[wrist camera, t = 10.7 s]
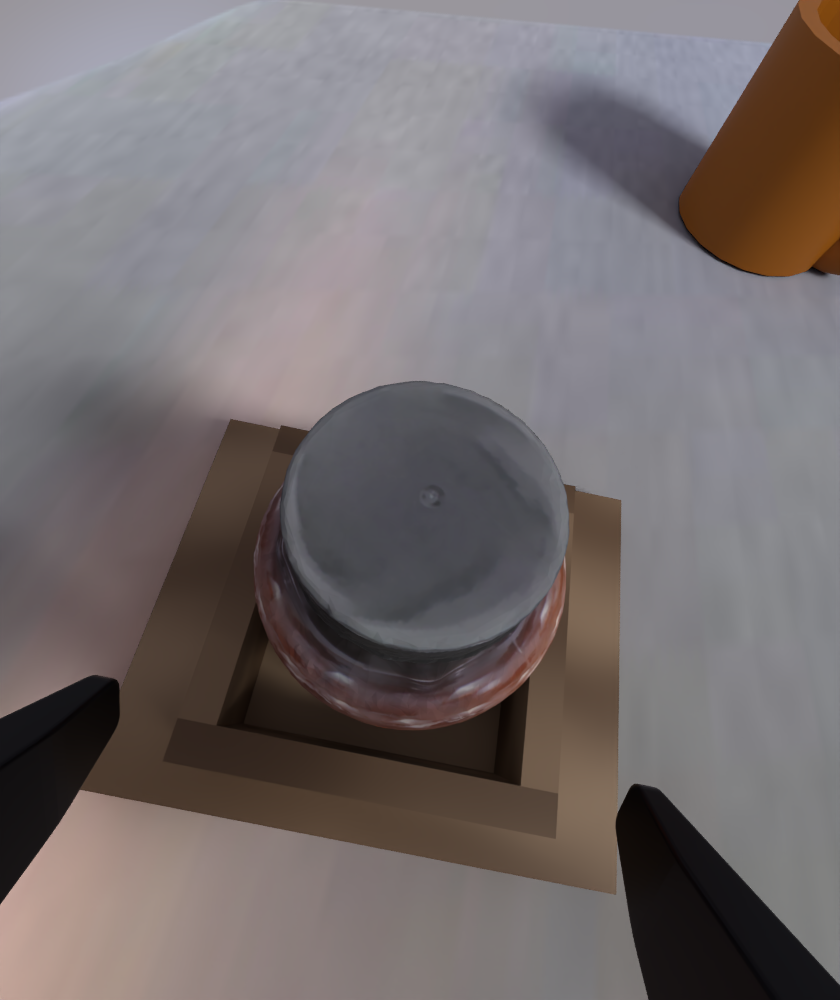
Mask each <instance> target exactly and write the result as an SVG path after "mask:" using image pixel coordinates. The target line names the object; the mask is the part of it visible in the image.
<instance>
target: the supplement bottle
mask: <svg viewBox="0 0 840 1000" xmlns="http://www.w3.org/2000/svg"><path fill="white" fill-rule="evenodd" d="M568 539H569V510H568V503H567V494H566V491H565V487H564V484H563V482H562V480H561V476H560V473H559V471H558V469H557V467H556V465H555V463H554V461H553V458H552V457H551V455H550V454H549V452H548V450H547V449H546V447H545V445H544V444H543V443H542V442H541V440H540V439H539V438H538V437H537V436H536V435H535V433H534V432H533V431H532V430H531V429H530V428H529V427H528V426H527V425H526V424H525V423H524V422H523V421H522V420H521V419H519V418H518V417H516V416H515V415H514V414H513V413H511V412H510V411H509V410H507V409H505V408H504V407H503V406H501V405H499V404H497V403H495V402H494V401H492V400H491V399H489V398H487V397H484V396H481V395H479V394H477V393H475V392H474V391H471V390H467V389H463V388H460V387H456V386H453V385H449V384H445V383H433V382H427V381H410V382H403V383H396V384H390V385H384V386H378V387H376V388H374V389H371V390H369V391H366V392H363V393H360V394H358V395H356V396H354V397H351V398H349V399H348V400H346V401H344V402H343V403H341V404H340V405H338V406H336V407H335V408H333V409H332V410H331V411H329V412H328V413H327V414H326V415H325V416H324V417H322V418H321V419H320V420H319V421H318V422H317V423H316V424H315V425H314V426H313V428H312V429H311V430H310V431H309V432H308V434H307V435H306V436H305V438H304V439H303V440H302V442H301V443H300V444H299V446H298V447H297V449H296V450H295V453H294V455H293V457H292V459H291V462H290V464H289V466H288V468H287V471H286V475H285V480H284V482H283V483H282V485H281V486H280V488H279V489H278V490H277V492H276V493H275V495H274V497H273V498H272V500H271V501H270V503H269V506H268V508H267V510H266V513H265V514H264V516H263V519H262V522H261V526H260V530H259V532H258V535H257V541H256V546H255V552H254V592H255V601H256V604H257V607H258V611H259V615H260V618H261V621H262V623H263V626H264V629H265V631H266V634H267V636H268V639H269V641H270V643H271V645H272V646H273V648H274V650H275V653H276V654H277V655H278V657H279V658H280V660H281V661H282V663H283V664H284V666H285V667H286V668H287V669H288V670H289V672H290V674H291V675H292V676H293V677H294V678H295V679H296V680H297V681H298V683H299V684H300V685H301V686H302V687H303V688H305V689H306V690H307V691H308V692H309V693H311V694H312V695H313V696H314V697H316V698H317V699H318V700H320V701H321V702H323V703H325V704H326V705H328V706H329V707H331V708H332V709H334V710H336V711H338V712H340V713H342V714H344V715H347V716H349V717H351V718H354V719H356V720H358V721H361V722H363V723H366V724H370V725H374V726H377V727H382V728H390V729H397V730H427V729H435V728H440V727H445V726H450V725H453V724H456V723H460V722H463V721H466V720H468V719H471V718H473V717H475V716H477V715H479V714H481V713H484V712H485V711H487V710H489V709H491V708H492V707H494V706H496V705H497V704H499V703H500V702H501V701H503V700H504V699H505V698H507V697H508V696H509V695H511V694H512V693H513V692H515V691H516V690H517V689H518V688H519V687H520V686H521V685H522V684H523V683H524V682H525V681H526V680H527V678H528V677H529V676H530V675H531V674H532V673H533V671H534V670H535V669H536V667H537V666H538V665H539V663H540V662H541V661H542V659H543V657H544V655H545V654H546V652H547V650H548V648H549V647H550V645H551V643H552V641H553V639H554V637H555V634H556V631H557V628H558V625H559V622H560V619H561V616H562V613H563V607H564V601H565V592H566V562H565V554H566V550H567V545H568Z"/></svg>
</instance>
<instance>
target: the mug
mask: <svg viewBox="0 0 840 1000" xmlns="http://www.w3.org/2000/svg"><path fill="white" fill-rule="evenodd" d="M679 209H680V214H681V217H682V219H683V221H684V223H685V225H686V228H687V229H688V230H689V231H690V233H691V234H692V235H693V236H694V237H695V238H696V239H697V241H698V242H699V243H700V244H701V245H702V246H704V247H705V248H706V249H708V250H709V251H710V252H712V253H713V254H714V255H716V256H717V257H718V258H720V259H721V260H724V261H726V262H728V263H730V264H732V265H734V266H736V267H738V268H741V269H743V270H746V271H750V272H754V273H758V274H762V275H766V276H792V275H795V274H799V273H802V272H806V271H807V270H808V269H810V268H811V267H814V268H816V269H818V270H820V271H821V272H824V273H830V274H836V275H840V0H799V1H798V3H797V5H796V6H795V8H794V9H793V11H792V13H791V14H790V16H789V18H788V19H787V21H786V23H785V24H784V26H783V28H782V29H781V31H780V32H779V35H778V36H777V37H776V39H775V41H774V42H773V44H772V46H771V47H770V49H769V50H768V52H767V54H766V55H765V57H764V59H763V60H762V62H761V64H760V65H759V67H758V68H757V70H756V72H755V73H754V75H753V77H752V78H751V80H750V82H749V83H748V85H747V86H746V88H745V90H744V91H743V93H742V95H741V96H740V98H739V100H738V101H737V103H736V105H735V106H734V108H733V109H732V111H731V113H730V114H729V116H728V118H727V119H726V121H725V123H724V124H723V126H722V127H721V129H720V131H719V132H718V134H717V136H716V137H715V139H714V141H713V142H712V144H711V145H710V147H709V149H708V150H707V152H706V154H705V155H704V157H703V159H702V160H701V162H700V164H699V165H698V167H697V168H696V170H695V172H694V173H693V175H692V177H691V178H690V180H689V182H688V183H687V185H686V186H685V188H684V190H683V192H682V194H681V195H680V197H679Z"/></svg>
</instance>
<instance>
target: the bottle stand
mask: <svg viewBox="0 0 840 1000" xmlns="http://www.w3.org/2000/svg"><path fill="white" fill-rule="evenodd" d="M308 432H309V431H306V430H301V429H296V428H291V427H287V426H282V425H281V428H280V429H276V428H271V427H266V426H262V425H257V424H252V423H247V422H242V421H238V420H233V419H231V420H230V422H229V425H228V427H227V429H226V432H225V434H224V437H223V439H222V442H221V444H220V447H219V449H218V451H217V454H216V456H215V459H214V461H213V464H212V466H211V469H210V471H209V474H208V476H207V478H206V481H205V483H204V486H203V488H202V491H201V493H200V496H199V498H198V501H197V503H196V505H195V508H194V510H193V513H192V515H191V518H190V520H189V523H188V525H187V528H186V530H185V532H184V535H183V537H182V540H181V542H180V545H179V547H178V550H177V552H176V555H175V557H174V559H173V562H172V564H171V567H170V569H169V572H168V574H167V577H166V579H165V582H164V584H163V586H162V589H161V591H160V594H159V596H158V599H157V601H156V604H155V606H154V609H153V611H152V613H151V616H150V618H149V621H148V623H147V626H146V628H145V631H144V633H143V635H142V638H141V640H140V643H139V645H138V648H137V650H136V653H135V655H134V658H133V660H132V662H131V665H130V667H129V670H128V672H127V675H126V677H125V680H124V682H123V685H122V687H121V689H120V718H119V722H118V725H117V728H116V730H115V732H114V733H113V735H112V737H111V738H110V740H109V742H108V743H107V745H106V747H105V748H104V750H103V752H102V753H101V755H100V757H99V758H98V760H97V762H96V763H95V765H94V767H93V768H92V770H91V772H90V773H89V775H88V777H87V778H86V780H85V782H84V783H83V785H82V787H81V788H80V790H85V791H90V792H95V793H100V794H105V795H110V796H115V797H120V798H126V799H131V800H136V801H141V802H146V803H151V804H156V805H161V806H166V807H171V808H176V809H182V810H187V811H192V812H197V813H202V814H207V815H212V816H217V817H222V818H227V819H233V820H238V821H243V822H248V823H253V824H258V825H263V826H268V827H273V828H278V829H284V830H289V831H294V832H299V833H304V834H309V835H314V836H319V837H324V838H329V839H335V840H340V841H345V842H350V843H355V844H360V845H365V846H370V847H375V848H380V849H385V850H391V851H396V852H401V853H406V854H411V855H416V856H421V857H426V858H431V859H436V860H442V861H447V862H452V863H457V864H462V865H467V866H472V867H477V868H482V869H487V870H493V871H498V872H503V873H508V874H513V875H518V876H523V877H528V878H533V879H538V880H543V881H549V882H554V883H559V884H564V885H569V886H574V887H579V888H584V889H589V890H594V891H600V892H605V893H610V894H615V895H616V876H617V836H616V829H615V823H616V817H617V795H618V714H619V633H620V552H621V500H617V499H613V498H608V497H603V496H598V495H593V494H589V493H584V492H579V491H575V486H570V485H565V484H564V487H565V491H566V494H567V503H568V510H569V539H568V545H567V550H566V554H565V562H566V592H565V601H564V607H563V613H562V616H561V619H560V622H559V625H558V628H557V631H556V634H555V637H554V639H553V641H552V643H551V645H550V647H549V648H548V650H547V652H546V654H545V655H544V657H543V659H542V661H541V662H540V663H539V665H538V666H537V667H536V669H535V670H534V671H533V673H532V674H531V675H530V676H529V677H528V678H527V680H526V681H525V682H524V683H523V684H522V685H521V686H520V687H519V688H518V689H517V690H516V691H515V692H513V693H512V694H511V695H509V696H508V697H507V698H505V699H504V700H503V701H501V702H500V703H499V704H497V705H496V706H494V707H492V708H491V709H489V710H487V711H485V712H484V713H481V714H479V715H477V716H475V717H473V718H471V719H468V720H466V721H463V722H460V723H456V724H453V725H450V726H445V727H440V728H435V729H427V730H397V729H390V728H382V727H377V726H374V725H370V724H366V723H363V722H361V721H358V720H356V719H354V718H351V717H349V716H347V715H344V714H342V713H340V712H338V711H336V710H334V709H332V708H331V707H329V706H328V705H326V704H325V703H323V702H321V701H320V700H318V699H317V698H316V697H314V696H313V695H312V694H311V693H309V692H308V691H307V690H306V689H305V688H303V687H302V686H301V685H300V684H299V683H298V681H297V680H296V679H295V678H294V677H293V676H292V675H291V674H290V672H289V670H288V669H287V668H286V667H285V666H284V664H283V663H282V661H281V660H280V658H279V657H278V655H277V654H276V653H275V650H274V648H273V646H272V645H271V643H270V641H269V639H268V636H267V634H266V631H265V629H264V626H263V623H262V621H261V618H260V615H259V611H258V607H257V604H256V601H255V592H254V552H255V546H256V541H257V535H258V532H259V530H260V526H261V522H262V519H263V516H264V514H265V513H266V510H267V508H268V506H269V503H270V501H271V500H272V498H273V497H274V495H275V493H276V492H277V490H278V489H279V488H280V486H281V485H282V483H283V482H284V480H285V475H286V471H287V468H288V466H289V464H290V462H291V459H292V457H293V455H294V453H295V450H296V449H297V447H298V446H299V444H300V443H301V442H302V440H303V439H304V438H305V436H306V435H307V434H308Z"/></svg>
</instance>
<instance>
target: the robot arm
mask: <svg viewBox="0 0 840 1000" xmlns="http://www.w3.org/2000/svg"><path fill="white" fill-rule="evenodd" d="M119 718H120V690H119V683H118V681H117V680H115V679H113V678H108V677H103V676H98V675H92V676H89V677H86V678H84V679H82V680H80V681H78V682H76V683H74V684H72V685H70V686H68V687H66V688H63V689H61V690H59V691H57V692H55V693H53V694H51V695H49V696H47V697H45V698H43V699H40V700H38V701H36V702H34V703H32V704H30V705H28V706H26V707H24V708H22V709H19V710H17V711H15V712H13V713H11V714H9V715H7V716H5V717H3V718H1V719H0V904H1V903H2V901H3V900H4V899H5V897H6V896H7V895H8V893H9V892H10V890H11V889H12V888H13V886H14V885H15V884H16V882H17V881H18V879H19V878H20V877H21V875H22V874H23V873H24V871H25V870H26V868H27V867H28V866H29V864H30V863H31V862H32V860H33V859H34V857H35V856H36V855H37V853H38V852H39V851H40V849H41V848H42V846H43V845H44V844H45V842H46V841H47V840H48V838H49V837H50V835H51V834H52V832H53V831H54V830H55V828H56V827H57V825H58V824H59V822H60V821H61V819H62V818H63V816H64V815H65V813H66V811H67V810H68V808H69V807H70V805H71V803H72V802H73V800H74V798H75V797H76V795H77V793H78V792H79V790H80V788H81V787H82V785H83V783H84V782H85V780H86V778H87V777H88V775H89V773H90V772H91V770H92V768H93V767H94V765H95V763H96V762H97V760H98V758H99V757H100V755H101V753H102V752H103V750H104V748H105V747H106V745H107V743H108V742H109V740H110V738H111V737H112V735H113V733H114V732H115V730H116V728H117V725H118V722H119ZM615 829H616V836H617V842H618V849H619V855H620V861H621V867H622V874H623V880H624V886H625V892H626V899H627V905H628V911H629V917H630V923H631V928H632V934H633V938H634V943H635V947H636V951H637V956H638V959H639V963H640V967H641V971H642V975H643V979H644V983H645V987H646V991H647V995H648V999H649V1000H840V985H839V984H838V983H837V982H836V981H835V979H834V978H833V977H832V976H831V975H830V974H829V973H828V972H827V971H826V970H825V969H824V967H823V966H822V965H821V964H820V963H819V962H818V961H817V960H816V959H815V958H814V957H813V956H812V954H811V953H810V952H809V951H808V950H807V949H806V948H805V947H804V946H803V945H802V944H801V942H800V941H799V940H798V939H797V938H796V937H795V936H794V935H793V934H792V933H791V932H790V931H789V929H788V928H787V927H786V926H785V925H784V924H783V923H782V922H781V921H780V920H779V919H778V918H777V916H776V915H775V914H774V913H773V912H772V911H771V910H770V909H769V908H768V907H767V906H766V904H765V903H764V902H763V901H762V900H761V899H760V898H759V897H758V896H757V895H756V894H755V893H754V891H753V890H752V889H751V888H750V887H749V886H748V885H747V884H746V883H745V882H744V881H743V880H742V878H741V877H740V876H739V875H738V874H737V873H736V872H735V871H734V870H733V869H732V868H731V866H730V865H729V864H728V863H727V862H726V861H725V860H724V859H723V858H722V857H721V856H720V855H719V853H718V852H717V851H716V850H715V849H714V848H713V847H712V846H711V845H710V844H709V843H708V841H707V840H706V839H705V838H704V837H703V836H702V835H701V834H700V833H699V832H698V831H697V830H696V828H695V827H694V826H693V825H692V824H691V823H690V822H689V821H688V820H687V819H686V818H685V817H684V815H683V814H682V813H681V812H680V811H679V810H678V809H677V808H676V807H675V806H674V805H673V803H672V802H671V801H670V800H669V799H668V798H667V797H666V796H665V795H664V794H663V793H662V792H661V791H660V790H659V789H657V788H655V787H651V786H646V785H641V784H634V785H632V786H631V787H630V789H629V791H628V793H627V795H626V797H625V799H624V801H623V803H622V805H621V807H620V809H619V811H618V814H617V817H616V823H615Z"/></svg>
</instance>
